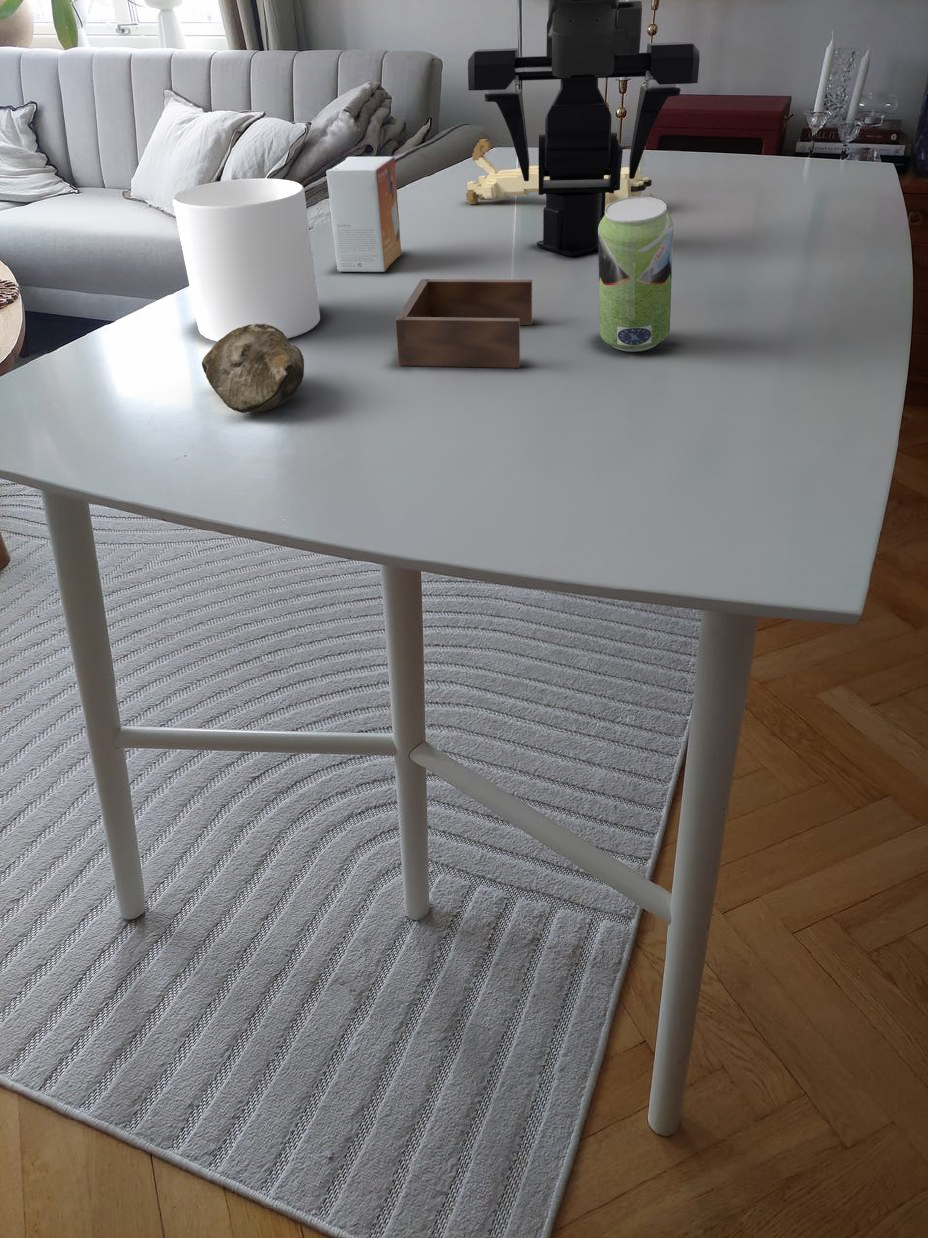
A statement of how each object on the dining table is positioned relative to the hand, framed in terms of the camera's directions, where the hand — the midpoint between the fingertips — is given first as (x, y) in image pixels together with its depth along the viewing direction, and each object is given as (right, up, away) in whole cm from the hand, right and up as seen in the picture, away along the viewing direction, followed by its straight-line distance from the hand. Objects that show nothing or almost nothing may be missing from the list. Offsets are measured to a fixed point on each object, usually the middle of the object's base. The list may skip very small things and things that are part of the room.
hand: (578, 179), depth 85 cm
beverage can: (+5, -15, 0) cm, 16 cm away
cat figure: (+3, +16, +44) cm, 47 cm away
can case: (-10, -14, +2) cm, 17 cm away
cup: (-30, -10, +9) cm, 33 cm away
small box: (-21, +2, +25) cm, 32 cm away
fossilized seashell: (-27, -21, -6) cm, 35 cm away
